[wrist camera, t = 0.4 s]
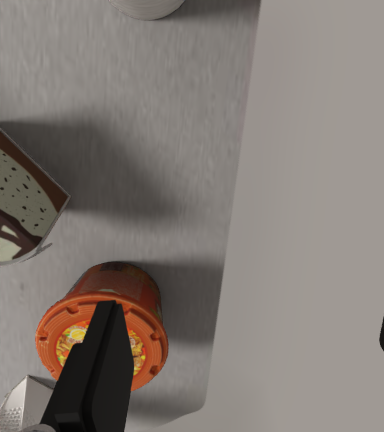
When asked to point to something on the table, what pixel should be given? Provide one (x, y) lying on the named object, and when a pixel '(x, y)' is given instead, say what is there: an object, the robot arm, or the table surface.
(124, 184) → the table surface
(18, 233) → the food container
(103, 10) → the table surface
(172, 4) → the toilet tissue
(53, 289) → the table surface
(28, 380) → the skyscraper
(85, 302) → the food container
